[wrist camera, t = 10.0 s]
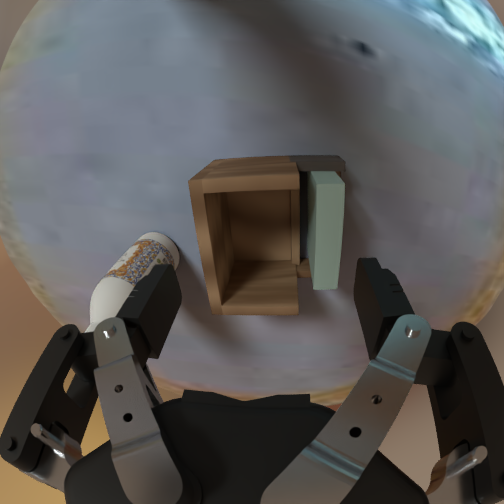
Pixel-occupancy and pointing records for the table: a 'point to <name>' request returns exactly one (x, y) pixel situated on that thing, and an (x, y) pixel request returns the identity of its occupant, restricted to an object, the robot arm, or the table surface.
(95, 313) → the bath foam
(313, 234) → the block
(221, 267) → the cabinet
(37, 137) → the table surface
